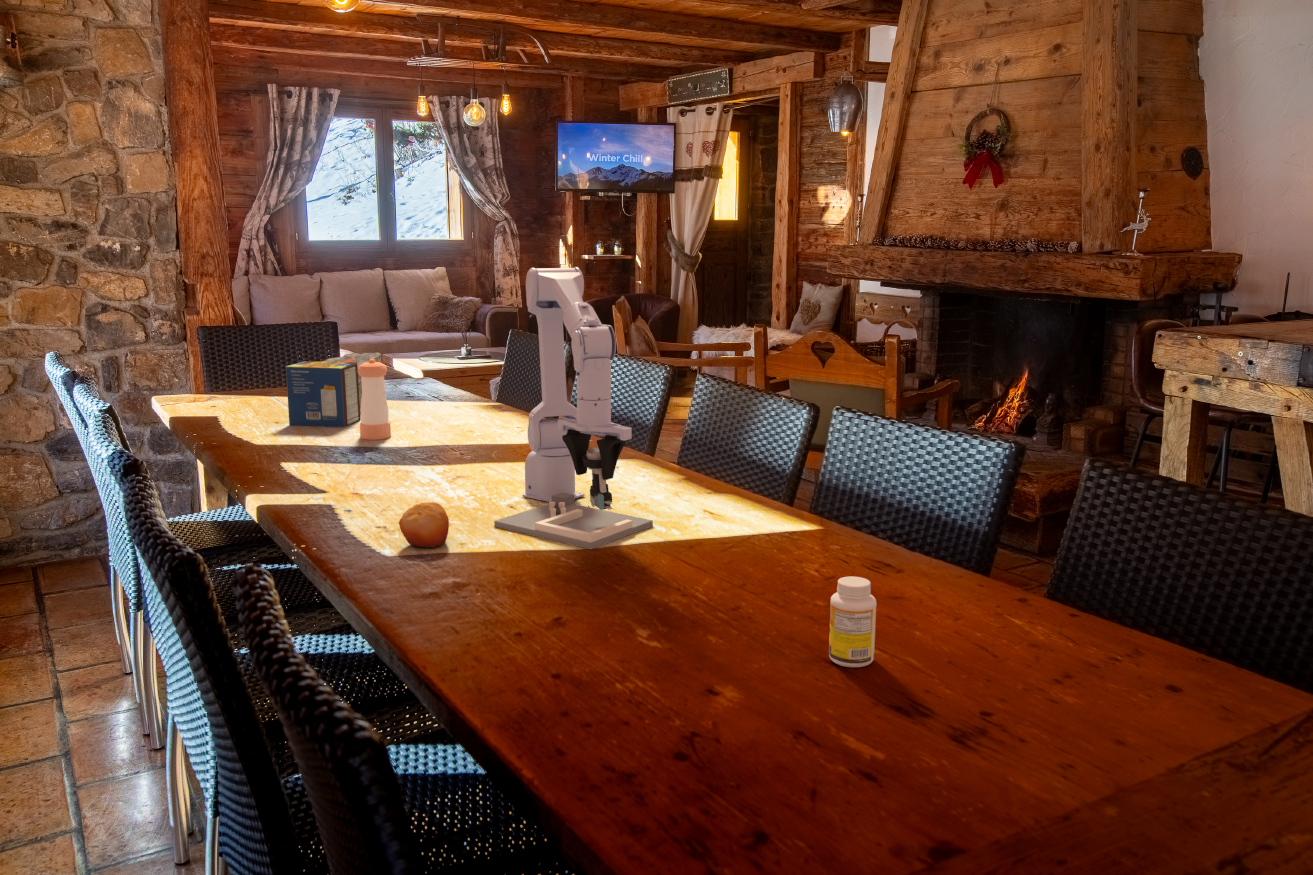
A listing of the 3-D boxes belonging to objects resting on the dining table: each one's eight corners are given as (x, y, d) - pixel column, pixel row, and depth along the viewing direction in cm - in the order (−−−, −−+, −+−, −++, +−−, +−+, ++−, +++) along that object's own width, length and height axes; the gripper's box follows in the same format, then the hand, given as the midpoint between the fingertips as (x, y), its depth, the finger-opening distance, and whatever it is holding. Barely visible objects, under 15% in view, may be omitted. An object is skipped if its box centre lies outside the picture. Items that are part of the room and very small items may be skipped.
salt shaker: (397, 436, 268) (393, 358, 264) (375, 441, 262) (371, 362, 258) (376, 432, 271) (372, 356, 268) (354, 437, 265) (349, 359, 262)
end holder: (534, 529, 185) (534, 522, 185) (577, 515, 194) (577, 508, 194) (590, 542, 178) (590, 535, 178) (632, 527, 187) (632, 520, 187)
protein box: (306, 418, 290) (302, 360, 287) (361, 420, 288) (358, 362, 285) (288, 425, 280) (284, 366, 277) (344, 427, 278) (341, 367, 275)
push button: (624, 509, 186) (621, 453, 183) (596, 515, 183) (592, 459, 181) (607, 498, 191) (604, 444, 189) (580, 504, 189) (576, 449, 186)
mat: (494, 526, 191) (494, 520, 190) (558, 506, 204) (558, 500, 204) (591, 549, 178) (591, 543, 178) (652, 525, 191) (652, 520, 191)
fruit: (464, 529, 184) (451, 495, 179) (445, 564, 178) (430, 530, 173) (422, 524, 186) (408, 491, 181) (402, 558, 181) (386, 525, 176)
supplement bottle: (842, 647, 138) (846, 570, 136) (882, 659, 134) (886, 580, 132) (819, 661, 134) (822, 581, 132) (859, 673, 130) (863, 592, 128)
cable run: (542, 517, 193) (542, 508, 193) (554, 500, 204) (553, 492, 204) (565, 517, 193) (565, 508, 192) (575, 501, 204) (575, 492, 203)
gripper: (545, 396, 184) (546, 474, 186) (613, 405, 175) (613, 487, 178) (572, 391, 189) (573, 467, 192) (639, 399, 181) (639, 478, 184)
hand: (594, 476), depth 186 cm, fingers closed on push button, 5 cm apart
